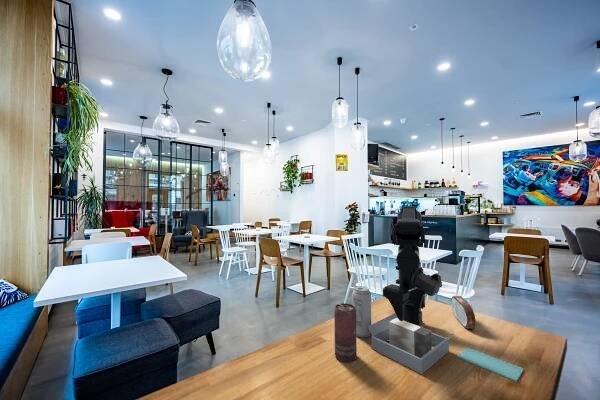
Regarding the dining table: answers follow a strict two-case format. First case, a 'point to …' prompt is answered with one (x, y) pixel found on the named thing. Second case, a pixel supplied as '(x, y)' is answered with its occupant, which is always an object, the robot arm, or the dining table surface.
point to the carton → (418, 364)
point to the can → (345, 332)
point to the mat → (491, 364)
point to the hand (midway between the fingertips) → (409, 316)
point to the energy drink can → (362, 310)
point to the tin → (463, 312)
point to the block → (410, 337)
